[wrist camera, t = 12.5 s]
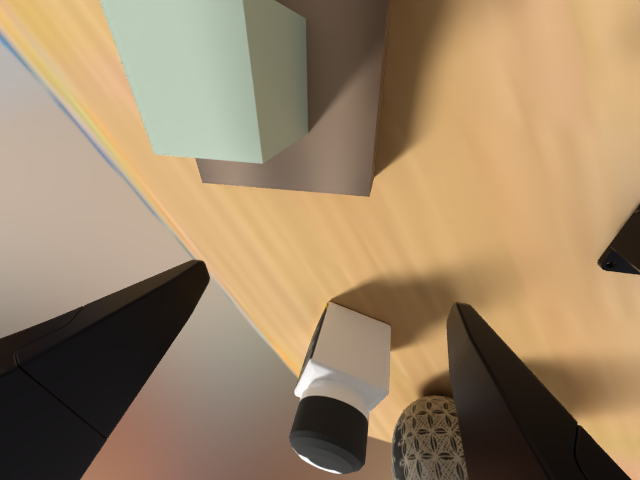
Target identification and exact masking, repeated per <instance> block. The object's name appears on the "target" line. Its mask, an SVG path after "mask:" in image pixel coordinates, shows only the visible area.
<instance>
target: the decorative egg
mask: <svg viewBox="0 0 640 480" xmlns="http://www.w3.org/2000/svg"><path fill="white" fill-rule="evenodd" d="M391 468H392V478H393V480H468V474H467V469H466V463H465V458H464V452H463V447H462V441H461V436H460V430H459V424H458V419H457V413H456V408H455V402H454V399H452V398H449V397H445V396H438V395H432V396H426V397H422V398H420V399H418V400H416V401H414V402H413V403H411V404H410V405H409V406H408V407H407V408H406V409H405V410H404V411H403V413H402V414H401V416H400V418H399V419H398V422H397V424H396V427H395V430H394V434H393V438H392V447H391Z"/></svg>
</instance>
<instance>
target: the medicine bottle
mask: <svg viewBox="0 0 640 480" xmlns="http://www.w3.org/2000/svg"><path fill="white" fill-rule="evenodd" d="M390 345H391V327H390V325H388V324H386V323H383V322H380V321H378V320H375V319H373V318H370V317H368V316H365V315H363V314H360V313H358V312H355V311H353V310H350V309H348V308H345V307H342V306H340V305H337V304H335V303H332V302H328V303H327V304H326V307H325V309H324V311H323V314H322V316H321V318H320V320H319V323H318V325H317V327H316V329H315V332H314V334H313V336H312V339H311V342H310V345H309V348H308V351H307V354H306V357H305V361H304V364H303V367H302V370H301V373H300V376H299V379H298V382H297V385H296V388H295V392H294V393H295V395H296V396H298V397H300V398H301V399H300V402H299V406H298V410H297V412H296V416H295V419H294V422H293V426H292V429H291V432H290V436H289V439H290V443H291V446H292V448H293V449H294V450H295V451H296V453H297V454H298V455H299V456H300V457H301V458H302V459H303V460H305V461H306V462H308V463H309V464H311V465H313V466H315V467H317V468H320V469H323V470H326V471H329V472H333V473H339V474H347V473H351V472H355V471H358V470H360V469H361V468H362V466H363V465H364V464H365V457H366V445H367V434H368V423H369V412H370V411H371V410H372V409H374V408H375V407H376V406H377V405H378V404H379V403H380V402H381V401H382V400H383V399H384V398H385V397H386V396H387V395H388V393H389V377H390Z"/></svg>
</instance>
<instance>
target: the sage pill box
mask: <svg viewBox="0 0 640 480" xmlns="http://www.w3.org/2000/svg"><path fill="white" fill-rule="evenodd" d="M100 3H101V5H102V8H103V11H104V14H105V17H106V19H107V22H108V25H109V28H110V31H111V34H112V36H113V39H114V42H115V45H116V48H117V50H118V53H119V56H120V59H121V62H122V64H123V67H124V70H125V73H126V76H127V78H128V81H129V84H130V87H131V90H132V93H133V95H134V98H135V101H136V104H137V107H138V109H139V112H140V115H141V118H142V121H143V123H144V126H145V129H146V132H147V135H148V137H149V140H150V143H151V146H152V149H153V152H154V154H156V155H167V156H179V157H191V158H202V159H214V160H225V161H237V162H248V163H260V164H263V163H265V162H266V161H268V160H269V159H271V158H272V157H274V156H275V155H277V154H278V153H280V152H281V151H283V150H284V149H286V148H287V147H289V146H290V145H292V144H293V143H295V142H296V141H298V140H299V139H301V138H302V137H304V136H305V135H307V134H308V100H307V51H306V18H304V17H302V16H301V15H299V14H297V13H296V12H294V11H292V10H290V9H289V8H287V7H285V6H284V5H282V4H280V3H278V2H277V1H275V0H100Z"/></svg>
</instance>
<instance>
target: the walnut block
mask: <svg viewBox="0 0 640 480" xmlns="http://www.w3.org/2000/svg"><path fill="white" fill-rule="evenodd" d="M275 1H277V2H278V3H280V4H282V5H284V6H285V7H287V8H289V9H290V10H292V11H294V12H296V13H297V14H299V15H301V16H302V17H304V18H306V51H307V100H308V134H307V135H305V136H304V137H302V138H301V139H299V140H298V141H296V142H295V143H293V144H292V145H290V146H289V147H287V148H286V149H284V150H283V151H281V152H280V153H278V154H277V155H275V156H274V157H272V158H271V159H269V160H268V161H266V162H265V163H263V164H260V163H248V162H237V161H225V160H214V159H202V158H196V162H197V165H198V169H199V172H200V176H201V179H202V183H212V184H224V185H236V186H248V187H260V188H272V189H284V190H296V191H308V192H320V193H332V194H344V195H356V196H368V197H369V196H370V192H371V188H372V184H373V180H374V173H375V163H376V153H377V143H378V133H379V123H380V113H381V103H382V93H383V83H384V73H385V63H386V53H387V43H388V33H389V23H390V13H391V3H392V0H275Z"/></svg>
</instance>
